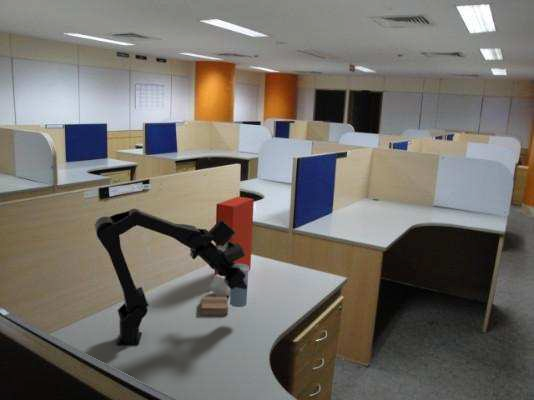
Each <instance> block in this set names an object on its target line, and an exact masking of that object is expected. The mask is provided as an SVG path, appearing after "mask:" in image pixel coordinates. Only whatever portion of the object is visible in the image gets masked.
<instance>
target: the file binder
mask: <svg viewBox="0 0 534 400" xmlns="http://www.w3.org/2000/svg"><path fill="white" fill-rule="evenodd" d="M254 201H255V199H254V198H249V197H244V196H243V197H242V196H236V197H232V198H230V199H227V200H224V201H221V202H218V203H216V206H215V207H216V210H215V215H216V216H215V224H216V223H217V222H218V221H219V220H222V221H223V222H224V223H225V224H226V225H227V226H229V227H230V228H231V229H232V230H233V231H234V232H235V233H236V234H235V235H234V236H233V237H232V238H231V239H230V240H229V241H231V242H232V243H233V244H235V243H236V244H239V245H240V246H241V247H242V248H243V251H244V253H245V256H244V257H241V258H240V259H238V260H236V261H233V262H234V263H235V264H245V265H248V266H249V270H248V271H250V270H251V266H252V265H251V264H252V263H251V262H252V243H253V226H254V225H253V224H254V222H253V221H254V203H255V202H254ZM229 241H228V242H229ZM228 242H227V243H228ZM214 245H215V246H216V247H217V248H218V249H219V250H220V249H221V250H222V251H225V250H226V249H225V248H226V244H225V245H224V246H221V245H220V246H218V245H217V244H216V243H215V242H214ZM215 275H219V274H218V273H217V272H216V271H215V270H214V276H215Z"/></svg>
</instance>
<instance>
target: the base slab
mask: <svg viewBox="0 0 534 400" xmlns="http://www.w3.org/2000/svg"><path fill="white" fill-rule="evenodd" d="M228 305H229V304H228V296H227V297H216V296H202V297H201V315H202V316H228V314H229V306H228Z"/></svg>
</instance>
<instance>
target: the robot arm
mask: <svg viewBox="0 0 534 400" xmlns="http://www.w3.org/2000/svg"><path fill="white" fill-rule="evenodd" d="M138 226H139V227H142V228H144V229H147V230H149V231H153V232H156V233H158V234H161V235H164V236H167V237H170V238H173V239H174V240H176V241H177V242H179V243H181V244H182V245H184V246H186V247H187V248H189V250H190V252H189V256H190V257H191V259H193V260H195V259H196V258H197V257H200V258H201V259H202V260H203V261H204V262H205V263H206V264H207V265H208V266H209V267H210V269H212V270H213V271H214V272H215V271H216V272H217V273H218V274H219V275H220V276H224V277H225V279H224V282H225V283H226V284H227V286H228V287H230V288H231V289H234V288H235V287H237V288H242V289H246V288H247V289H248V287H247V285H246V284H245V282H244V281H243V278H244V277H245V274H244V273H243V272H242V271H241V270H240V269H239V268H238V267H236V268H233V267H232V266H233V265H234V264H235V263H234V262H233V261H236V260H238V259H240V258H241V257H244V256H245V253H244V251H243V248H242V247H241V246H240V245H239V244H236V243H235V244H233V243H232V242H231V241H229V240H230V239H231V238H232V237H233V236H234V235H235V234H236V233H235V232H234V231H233V230H232V229H231V228H230V227H229V226H227V225H226V224H225V223H224V222H223V221H222V220H219V221H218V222H217V223H216V222H215V224H214V225H213V226H212V227H211V229H209V230H208V229H206V228H197V227H196V226H195V225H190V224H185V223H175V222H171V221H169V220H166V219H163V218H160V217H158V216H154V215H152V214H149V213H147V212H145V211H141V210H140V209H138V208H131V209H130V210H127V211H123V212H120V213H119V212H118V213H115V214H113V215H110V216H102V217H100V218H98V219H97V220H96V222H95V223H94V230H95V233H96V237H97V239H98V240H99V242H100V243H101V245H102V246H103V248H104V250H106V252H107V254H108V256H109V258H110V261H111V263H112V266H113V268H114V272H115V273H116V276H117V279H118V282H119V283H120V286H121V289H122V295H123V296H122V297H123V301H124V303H123V304H122V305H121V306H120V307H119V308H118V309H117V313H118V314H117V315H118V318H119V324H118V325H119V336H118V339H117V340H116V345H117V346H122V345H123V346H127V345H129V346H131V345H132V346H133V345H139V344H140V342H141V339H142V334H143V333H142V331H140V325H141V322H142V321H143V319H144V317H146V315H147V313H148V311H149V310H148V307H150V305H149V302H148V300H147V298H146V295H145V292H144V290H143V287H142V286H140V287H138V288H137V286H136V285H135V282H134V280H133V277H132V275H131V273H130V272H131V271H130V269H129V266H128V265H127V261H126V258H125V256H124V252H123V251H122V247H121V246H122V245H121V238H120V235H123V234H125V233H126V232H128V231H130V230H131V229H132V228H135V227H138ZM228 241H229V242H228ZM213 242H214V243H213ZM227 242H228V243H227ZM215 243H216V244H217V245H218V246H220V245H221V246H224V245H225V244H226V248H225V249H226V250H225V251H222V250H221V249H220V250H219V249H218V248H217V247H216V246H215Z"/></svg>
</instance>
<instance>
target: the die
mask: <svg viewBox="0 0 534 400" xmlns="http://www.w3.org/2000/svg"><path fill="white" fill-rule="evenodd" d="M214 275H215V274H214ZM224 279H225V277H224V276H220V275H215V276H214V277H213V279H212V280H211V284H210V285H209V288H210V290H211V291H212V293H213V295H214V297H227V298H228V297H230V295H231V288H230V287H228V286H227V284H226V283H225V282H224Z"/></svg>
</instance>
